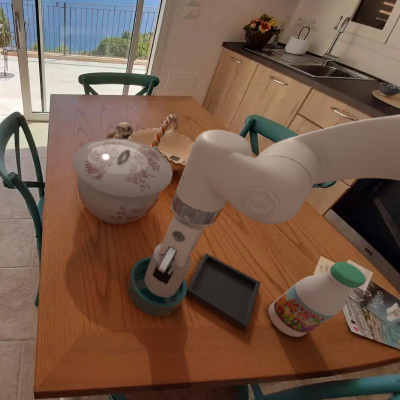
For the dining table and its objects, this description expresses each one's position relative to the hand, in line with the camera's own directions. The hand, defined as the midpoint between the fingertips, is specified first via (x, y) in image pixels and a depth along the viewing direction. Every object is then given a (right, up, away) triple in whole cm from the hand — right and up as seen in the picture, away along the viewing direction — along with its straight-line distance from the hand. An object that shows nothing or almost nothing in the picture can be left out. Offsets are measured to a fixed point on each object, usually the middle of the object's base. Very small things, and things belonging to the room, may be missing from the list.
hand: (168, 265), depth 56 cm
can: (0, -6, +5) cm, 8 cm away
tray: (+16, -8, +9) cm, 20 cm away
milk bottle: (+28, -14, +5) cm, 32 cm away
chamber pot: (-8, +12, +29) cm, 32 cm away
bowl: (-1, -8, +8) cm, 12 cm away
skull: (-1, +40, +60) cm, 72 cm away
